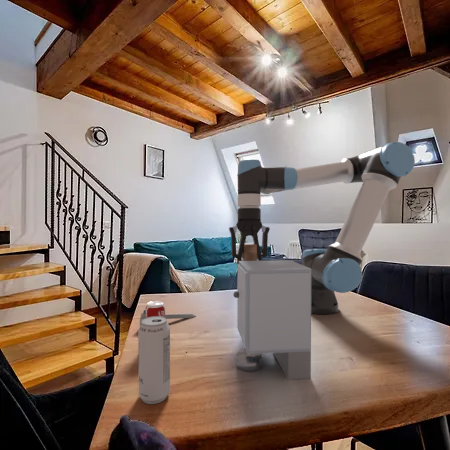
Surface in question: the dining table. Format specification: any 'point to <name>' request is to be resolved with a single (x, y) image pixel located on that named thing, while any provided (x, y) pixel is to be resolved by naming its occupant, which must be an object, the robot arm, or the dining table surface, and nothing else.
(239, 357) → the disc
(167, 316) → the caliper
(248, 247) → the wooden mallet
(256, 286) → the cabinet
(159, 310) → the soda can
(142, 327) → the energy drink can
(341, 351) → the dining table surface
